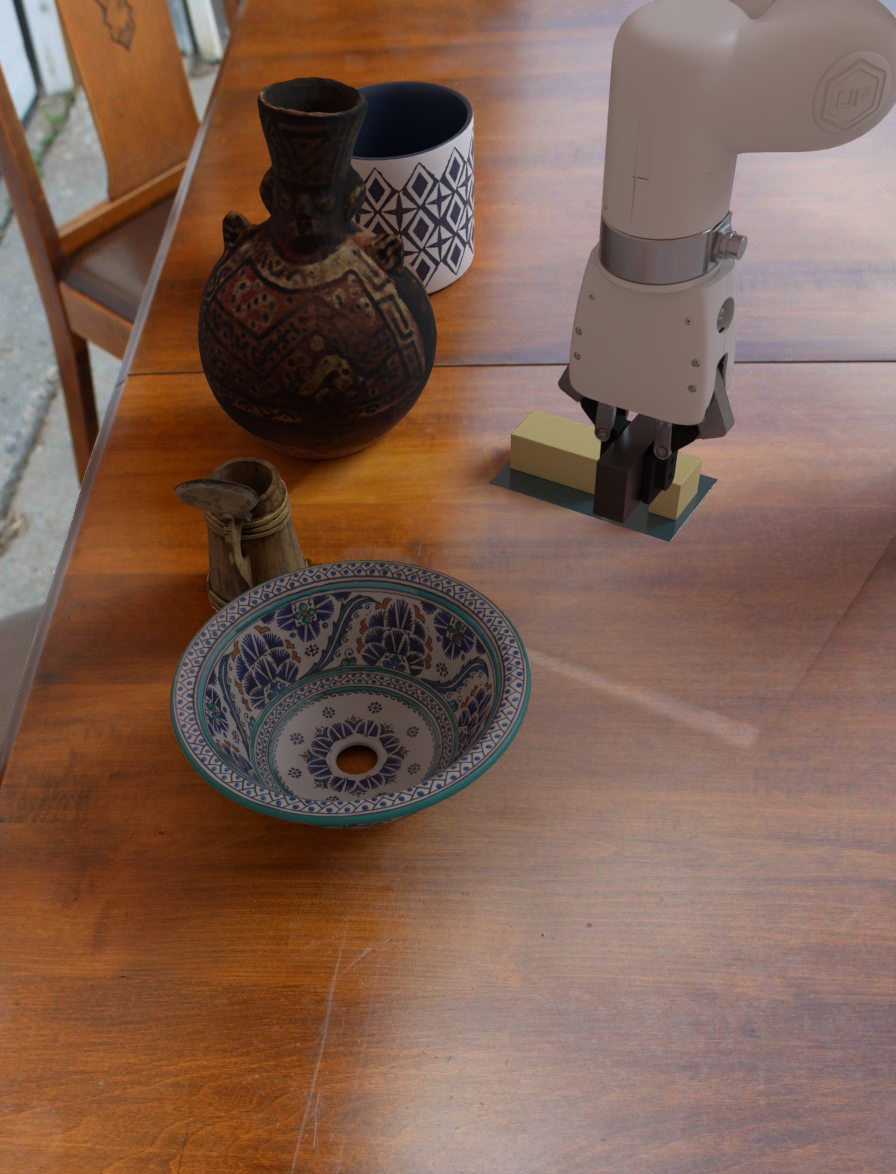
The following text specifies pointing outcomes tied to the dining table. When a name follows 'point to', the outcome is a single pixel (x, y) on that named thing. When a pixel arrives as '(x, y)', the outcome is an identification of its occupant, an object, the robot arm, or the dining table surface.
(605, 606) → the dining table surface
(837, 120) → the robot arm
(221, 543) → the wooden mug
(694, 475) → the butter slice
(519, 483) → the flat slate board
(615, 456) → the knife
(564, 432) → the butter stick
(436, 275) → the planter
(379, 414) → the ceramic vessel
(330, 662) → the bowl
